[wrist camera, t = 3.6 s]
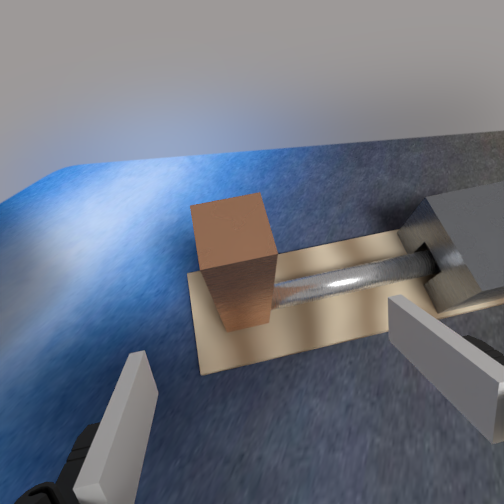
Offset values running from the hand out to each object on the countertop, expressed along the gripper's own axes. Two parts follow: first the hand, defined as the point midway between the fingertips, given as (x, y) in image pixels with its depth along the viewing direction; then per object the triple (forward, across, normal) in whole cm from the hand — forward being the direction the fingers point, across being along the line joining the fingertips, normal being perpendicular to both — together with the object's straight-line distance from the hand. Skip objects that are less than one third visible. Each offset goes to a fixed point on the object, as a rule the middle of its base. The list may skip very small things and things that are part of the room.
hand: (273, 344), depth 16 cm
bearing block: (+13, +22, -4) cm, 26 cm away
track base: (+14, +11, -5) cm, 18 cm away
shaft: (+12, +8, -4) cm, 15 cm away
